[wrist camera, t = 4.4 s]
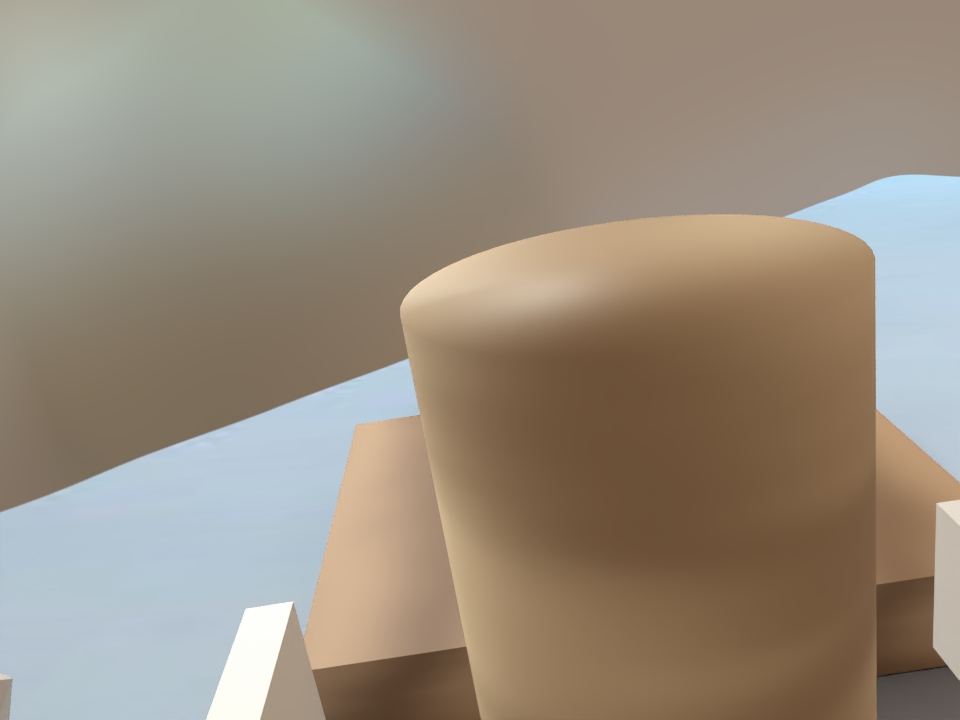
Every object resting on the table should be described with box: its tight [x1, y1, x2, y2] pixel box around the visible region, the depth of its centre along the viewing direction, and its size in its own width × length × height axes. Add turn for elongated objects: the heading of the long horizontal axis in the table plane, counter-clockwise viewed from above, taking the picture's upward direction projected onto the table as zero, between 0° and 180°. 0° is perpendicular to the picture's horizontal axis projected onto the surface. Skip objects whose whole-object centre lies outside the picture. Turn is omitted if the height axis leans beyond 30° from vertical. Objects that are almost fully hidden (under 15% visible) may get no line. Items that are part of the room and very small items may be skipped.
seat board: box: [304, 409, 960, 720], centre depth 31 cm, size 20×16×3 cm
